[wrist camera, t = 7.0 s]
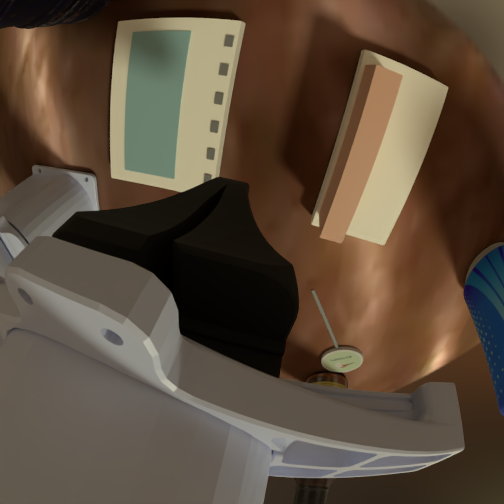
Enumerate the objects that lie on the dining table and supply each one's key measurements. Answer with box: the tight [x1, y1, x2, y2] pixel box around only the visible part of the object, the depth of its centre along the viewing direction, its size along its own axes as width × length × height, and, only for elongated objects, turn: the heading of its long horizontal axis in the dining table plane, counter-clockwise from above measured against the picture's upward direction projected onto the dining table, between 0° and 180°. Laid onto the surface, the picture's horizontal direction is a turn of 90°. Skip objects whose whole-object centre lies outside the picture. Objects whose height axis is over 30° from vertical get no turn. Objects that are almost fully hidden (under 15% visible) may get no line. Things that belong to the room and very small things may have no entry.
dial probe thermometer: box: [311, 290, 363, 372], centre depth 30 cm, size 5×1×15 cm
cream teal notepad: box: [110, 18, 246, 192], centre depth 18 cm, size 9×13×1 cm
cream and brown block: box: [312, 49, 449, 245], centre depth 16 cm, size 6×13×4 cm, turn 170°
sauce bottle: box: [293, 372, 348, 504], centre depth 28 cm, size 7×6×20 cm
